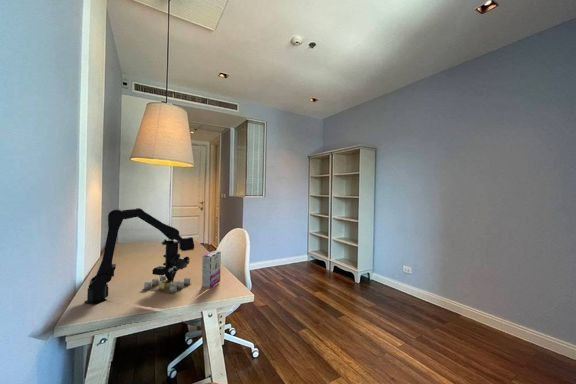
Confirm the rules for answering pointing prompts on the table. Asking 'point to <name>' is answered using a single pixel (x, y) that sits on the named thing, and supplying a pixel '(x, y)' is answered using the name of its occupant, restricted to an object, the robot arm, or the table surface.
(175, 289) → the board
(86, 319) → the table surface
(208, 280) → the candy bar box
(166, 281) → the hexagonal box
